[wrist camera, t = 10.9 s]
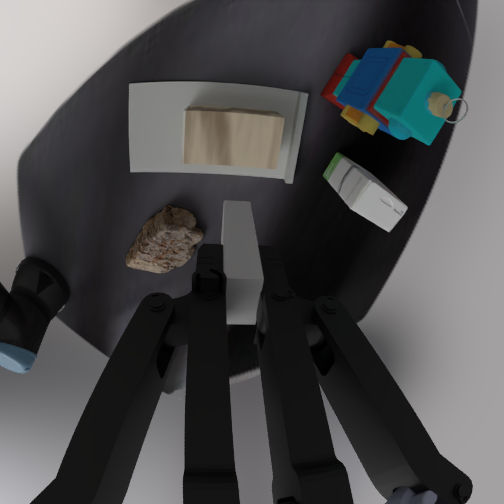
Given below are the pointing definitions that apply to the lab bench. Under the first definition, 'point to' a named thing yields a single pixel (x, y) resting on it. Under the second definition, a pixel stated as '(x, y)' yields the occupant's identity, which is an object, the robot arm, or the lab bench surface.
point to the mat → (211, 94)
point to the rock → (165, 241)
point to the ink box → (364, 192)
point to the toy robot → (394, 92)
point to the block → (231, 136)
